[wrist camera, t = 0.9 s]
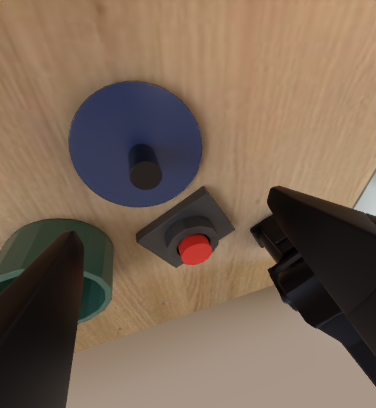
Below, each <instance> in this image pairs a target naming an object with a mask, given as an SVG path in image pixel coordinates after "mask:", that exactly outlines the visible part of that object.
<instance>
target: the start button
mask: <svg viewBox="0 0 376 408" xmlns="http://www.w3.org/2000/svg"><path fill="white" fill-rule="evenodd" d="M178 249H179V252H180V256H181V259H182V261H183V262H184V263H185V264H188V265H195V264H199V263H202V262H204V261H205V260H207V259H208V258H209V257H210V255H211V253H212V247H211V245H210V243H209V241H208V239H207V237H206V236H205V235H203V234H199V233H197V234H193V235H189V236H187V237H186V238H184V239H183V240H181V242H180V243H179V246H178Z"/></svg>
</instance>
